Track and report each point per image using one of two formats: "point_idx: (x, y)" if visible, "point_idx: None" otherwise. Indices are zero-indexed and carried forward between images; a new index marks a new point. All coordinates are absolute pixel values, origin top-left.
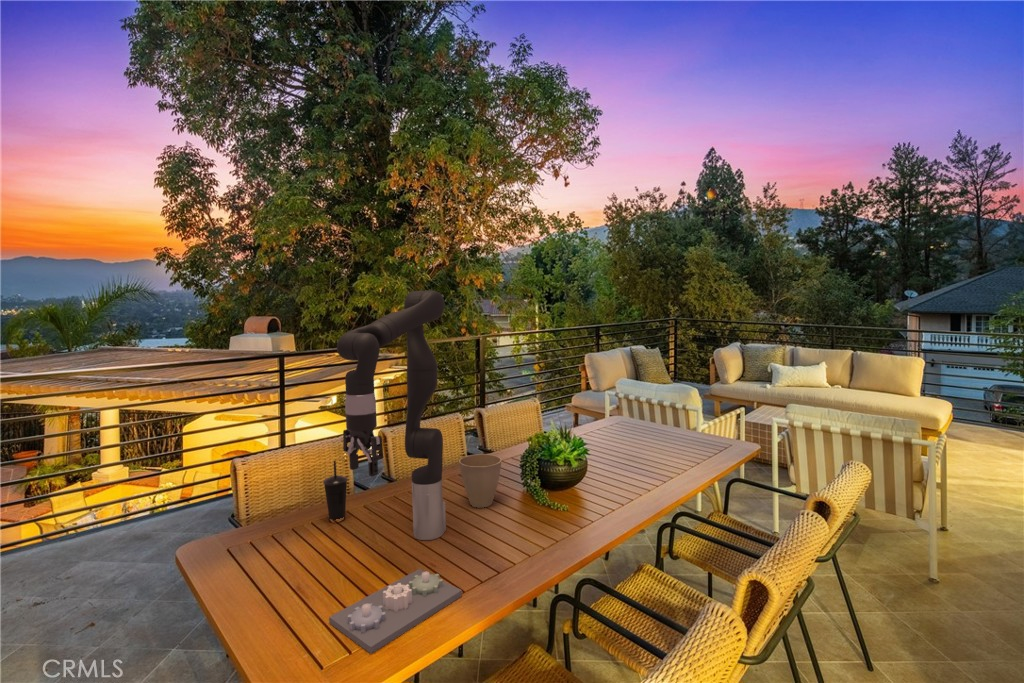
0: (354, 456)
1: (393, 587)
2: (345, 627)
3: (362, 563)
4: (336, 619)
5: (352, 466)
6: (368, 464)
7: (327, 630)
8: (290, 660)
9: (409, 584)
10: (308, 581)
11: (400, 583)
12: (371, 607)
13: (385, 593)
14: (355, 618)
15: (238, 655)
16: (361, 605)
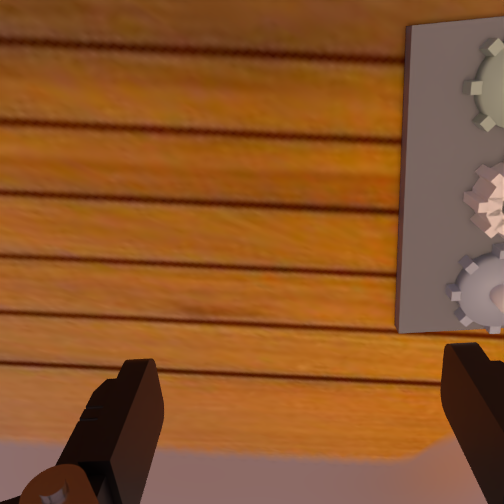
0: (122, 486)
1: (497, 202)
2: (467, 327)
3: (193, 129)
4: (423, 327)
5: (156, 427)
6: (487, 500)
7: (414, 336)
8: (436, 412)
9: (487, 130)
10: (180, 283)
11: (500, 176)
12: (486, 271)
13: (496, 232)
14: (488, 317)
15: (342, 458)
16: (425, 263)
